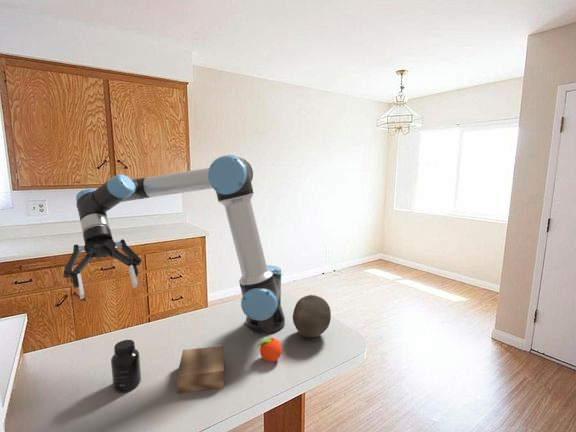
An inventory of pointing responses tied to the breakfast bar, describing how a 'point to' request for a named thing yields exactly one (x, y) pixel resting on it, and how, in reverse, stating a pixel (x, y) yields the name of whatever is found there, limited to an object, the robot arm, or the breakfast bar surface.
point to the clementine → (270, 349)
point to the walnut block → (201, 369)
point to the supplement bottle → (125, 366)
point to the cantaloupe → (311, 316)
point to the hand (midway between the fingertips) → (110, 290)
